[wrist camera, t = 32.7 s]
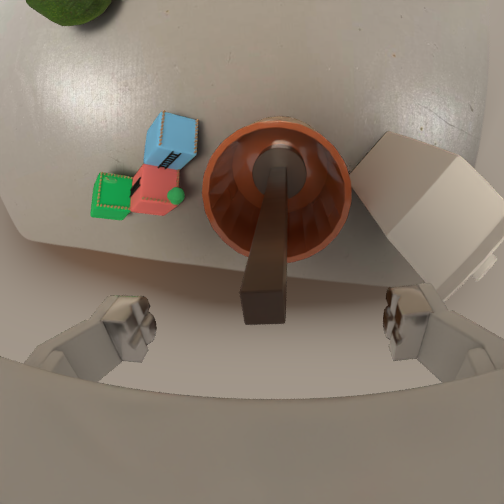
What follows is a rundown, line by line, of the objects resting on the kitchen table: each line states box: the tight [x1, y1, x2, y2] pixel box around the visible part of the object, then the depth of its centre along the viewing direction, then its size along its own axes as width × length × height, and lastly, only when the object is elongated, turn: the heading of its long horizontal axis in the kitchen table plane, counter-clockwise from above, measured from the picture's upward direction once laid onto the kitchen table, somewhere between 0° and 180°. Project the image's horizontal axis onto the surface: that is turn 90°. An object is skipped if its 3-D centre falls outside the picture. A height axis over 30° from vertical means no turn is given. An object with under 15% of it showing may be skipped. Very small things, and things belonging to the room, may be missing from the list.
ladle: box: [240, 144, 307, 325], centre depth 20 cm, size 5×5×23 cm
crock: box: [202, 116, 352, 263], centre depth 26 cm, size 11×11×11 cm
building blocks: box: [91, 110, 199, 220], centre depth 29 cm, size 8×8×12 cm
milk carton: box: [349, 131, 504, 302], centre depth 22 cm, size 7×7×19 cm
